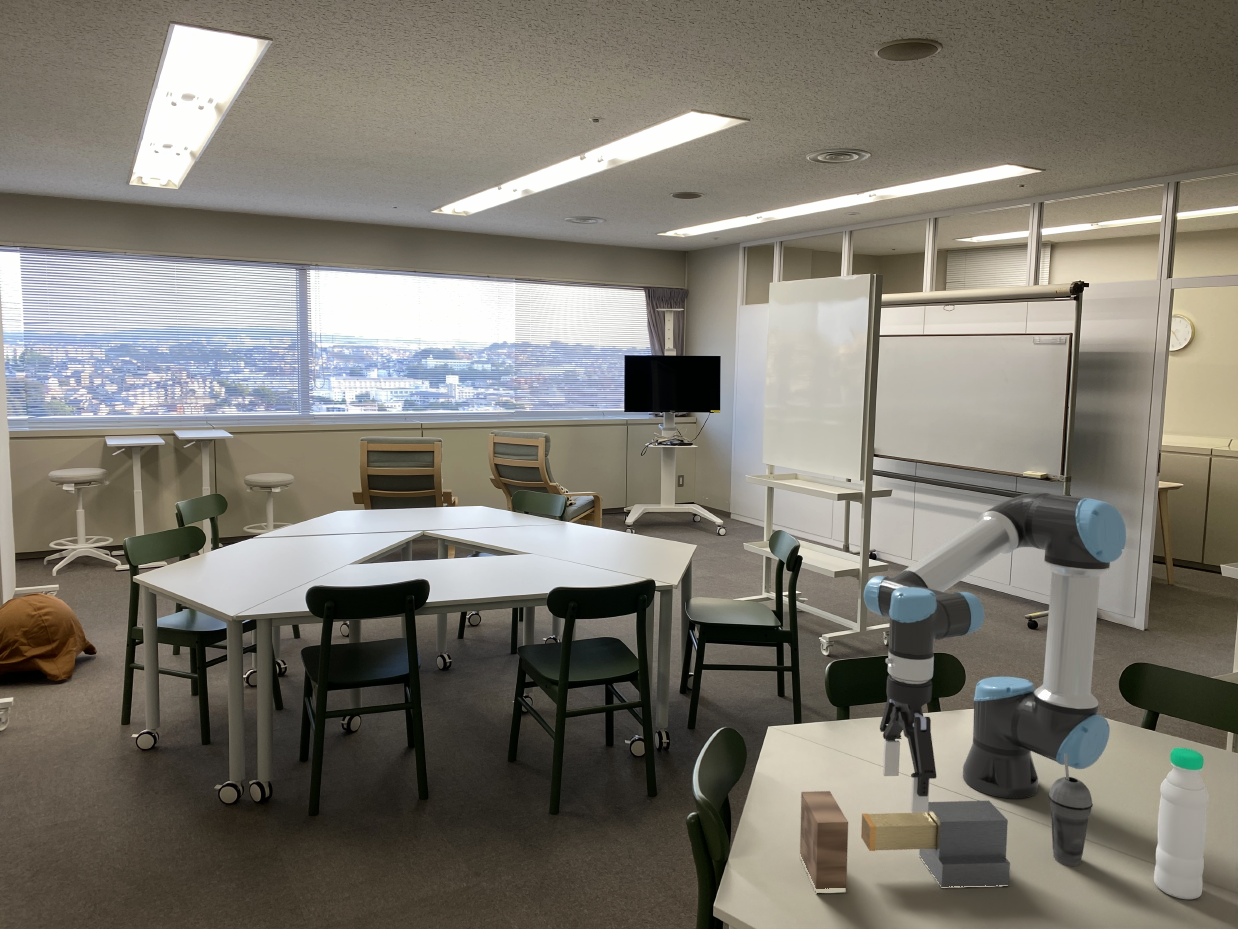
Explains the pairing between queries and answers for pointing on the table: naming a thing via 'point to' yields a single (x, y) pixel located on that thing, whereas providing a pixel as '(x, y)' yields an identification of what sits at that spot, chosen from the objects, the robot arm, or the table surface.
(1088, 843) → the table surface
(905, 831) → the rail
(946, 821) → the sleeve
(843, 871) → the socket block
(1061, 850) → the beverage cup
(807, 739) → the table surface
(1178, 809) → the water bottle
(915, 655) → the robot arm
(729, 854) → the table surface
